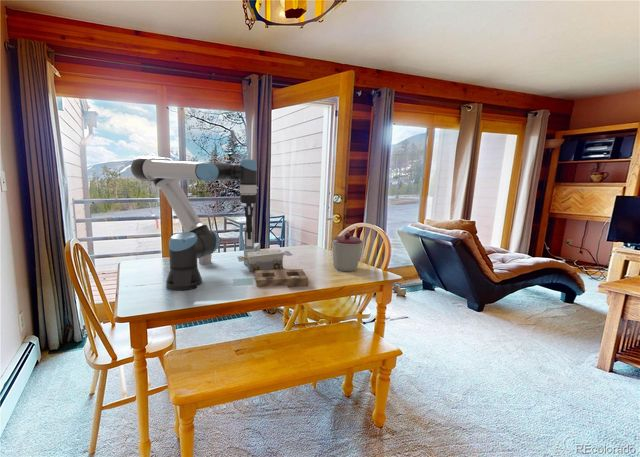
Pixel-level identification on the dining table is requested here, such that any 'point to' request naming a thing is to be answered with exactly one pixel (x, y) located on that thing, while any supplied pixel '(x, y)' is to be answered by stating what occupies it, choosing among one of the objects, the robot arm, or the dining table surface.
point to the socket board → (281, 278)
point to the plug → (252, 239)
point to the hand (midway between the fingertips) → (249, 244)
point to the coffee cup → (205, 259)
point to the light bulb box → (256, 248)
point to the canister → (346, 252)
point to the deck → (242, 281)
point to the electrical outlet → (265, 260)
